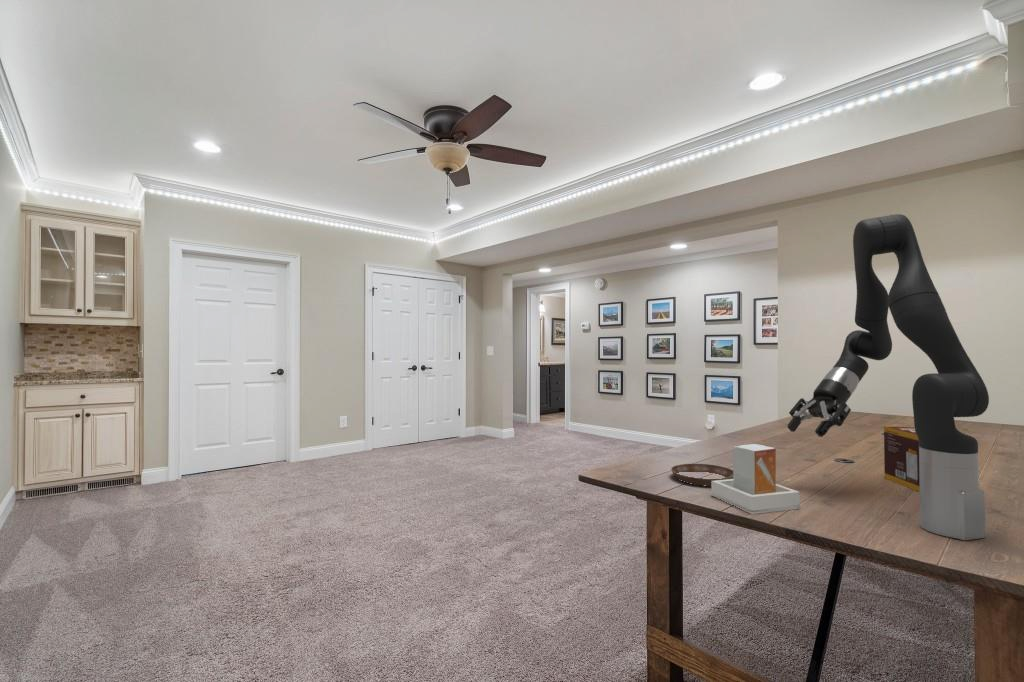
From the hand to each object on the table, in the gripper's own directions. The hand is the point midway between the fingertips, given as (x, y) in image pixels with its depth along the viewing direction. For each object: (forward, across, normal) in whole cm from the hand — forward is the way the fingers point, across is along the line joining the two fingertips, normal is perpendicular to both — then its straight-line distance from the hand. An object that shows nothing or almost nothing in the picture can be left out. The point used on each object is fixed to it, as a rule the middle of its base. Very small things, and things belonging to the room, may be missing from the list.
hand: (803, 432), depth 125 cm
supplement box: (-16, +2, +39) cm, 42 cm away
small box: (+23, +1, -1) cm, 23 cm away
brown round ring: (+23, -20, 0) cm, 31 cm away
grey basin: (+24, +1, 0) cm, 24 cm away
